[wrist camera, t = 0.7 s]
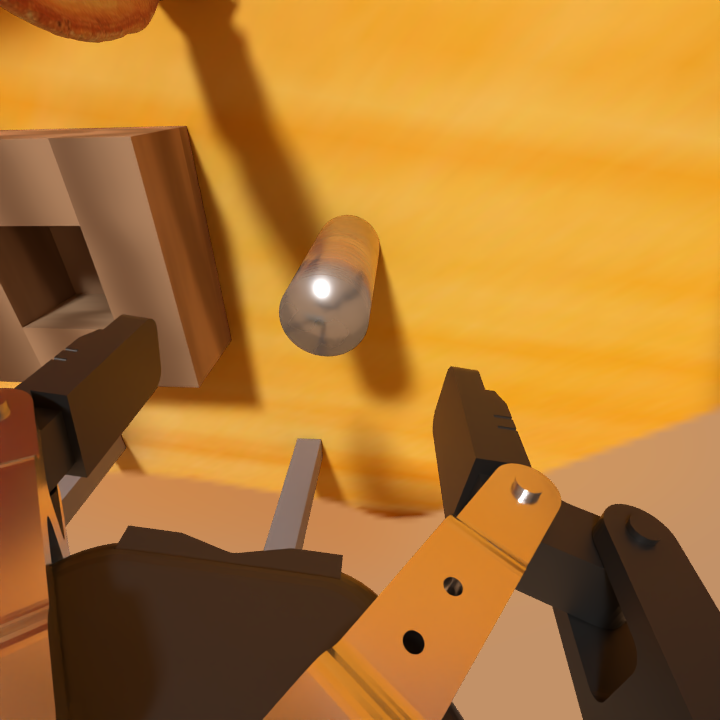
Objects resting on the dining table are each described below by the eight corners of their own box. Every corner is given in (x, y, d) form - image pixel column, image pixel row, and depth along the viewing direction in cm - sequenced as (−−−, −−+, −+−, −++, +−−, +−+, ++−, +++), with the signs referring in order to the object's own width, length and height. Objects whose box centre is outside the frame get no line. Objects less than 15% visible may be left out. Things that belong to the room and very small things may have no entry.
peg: (379, 214, 26) (367, 275, 18) (379, 277, 29) (369, 357, 20) (314, 215, 27) (273, 274, 18) (319, 276, 29) (284, 355, 21)
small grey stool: (319, 353, 32) (135, 925, 10) (328, 461, 38) (224, 971, 16) (54, 347, 34) (-580, 820, 12) (101, 450, 40) (-268, 896, 18)
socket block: (186, 126, 25) (130, 136, 20) (231, 340, 32) (199, 387, 27) (-39, 131, 26) (-146, 142, 21) (54, 336, 33) (-8, 380, 28)
